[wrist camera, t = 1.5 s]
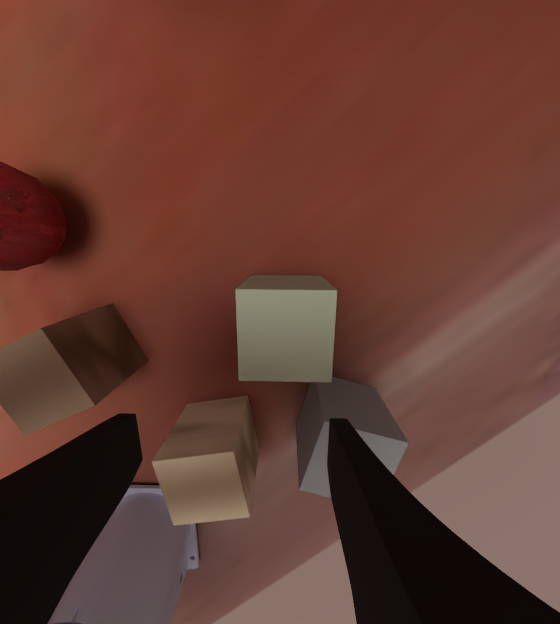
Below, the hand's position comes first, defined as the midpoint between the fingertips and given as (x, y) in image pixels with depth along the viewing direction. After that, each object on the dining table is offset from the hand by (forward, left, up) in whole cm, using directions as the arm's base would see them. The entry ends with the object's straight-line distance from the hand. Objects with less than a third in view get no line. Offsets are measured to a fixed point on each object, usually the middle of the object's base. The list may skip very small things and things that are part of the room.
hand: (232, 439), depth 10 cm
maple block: (-8, +3, -11) cm, 14 cm away
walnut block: (-1, +12, -11) cm, 16 cm away
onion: (+8, +14, -11) cm, 20 cm away
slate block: (-6, -6, -11) cm, 13 cm away
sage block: (+2, -2, -11) cm, 11 cm away
